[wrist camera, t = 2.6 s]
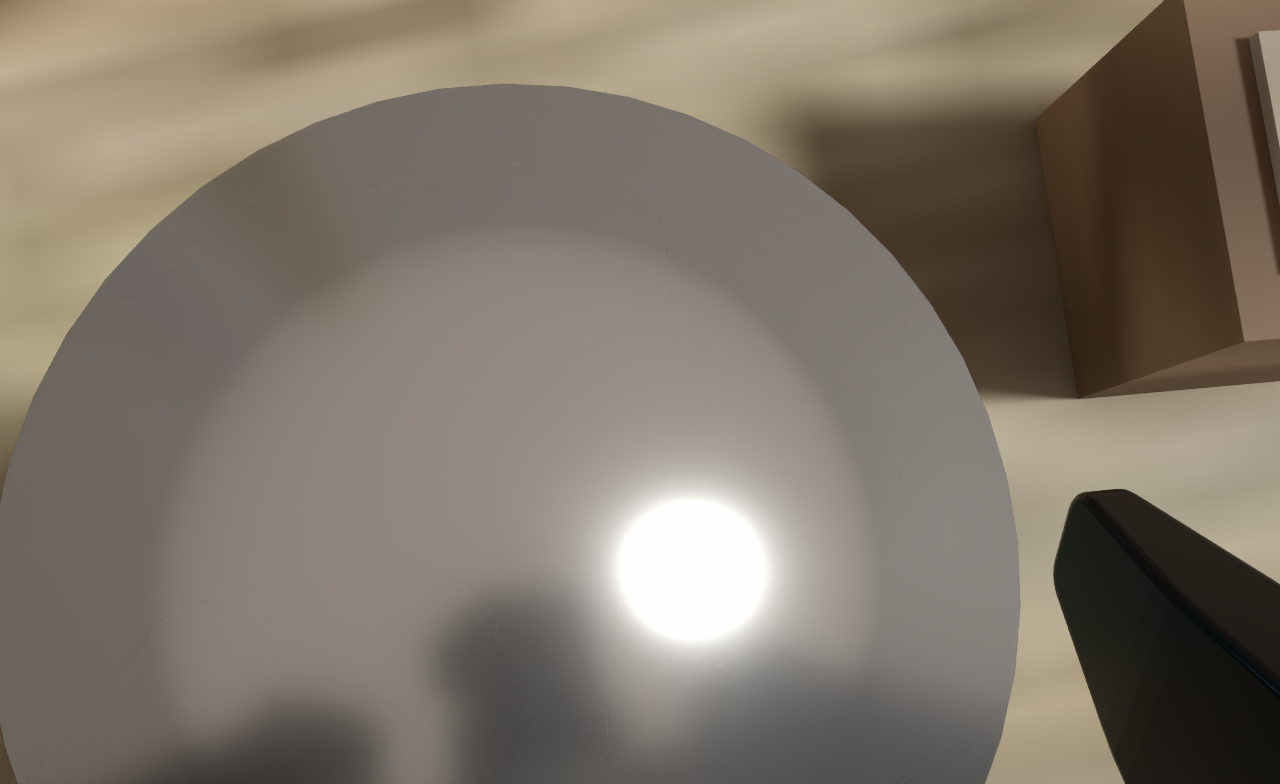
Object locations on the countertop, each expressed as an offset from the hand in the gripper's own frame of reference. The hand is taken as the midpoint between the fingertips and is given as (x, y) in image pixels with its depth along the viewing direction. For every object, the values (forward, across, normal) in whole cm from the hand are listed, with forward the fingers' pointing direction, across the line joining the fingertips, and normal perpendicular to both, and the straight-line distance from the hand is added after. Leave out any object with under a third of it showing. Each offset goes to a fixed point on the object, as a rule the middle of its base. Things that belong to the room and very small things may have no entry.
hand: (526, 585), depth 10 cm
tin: (+6, 0, +6) cm, 8 cm away
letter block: (+9, -11, +3) cm, 14 cm away
